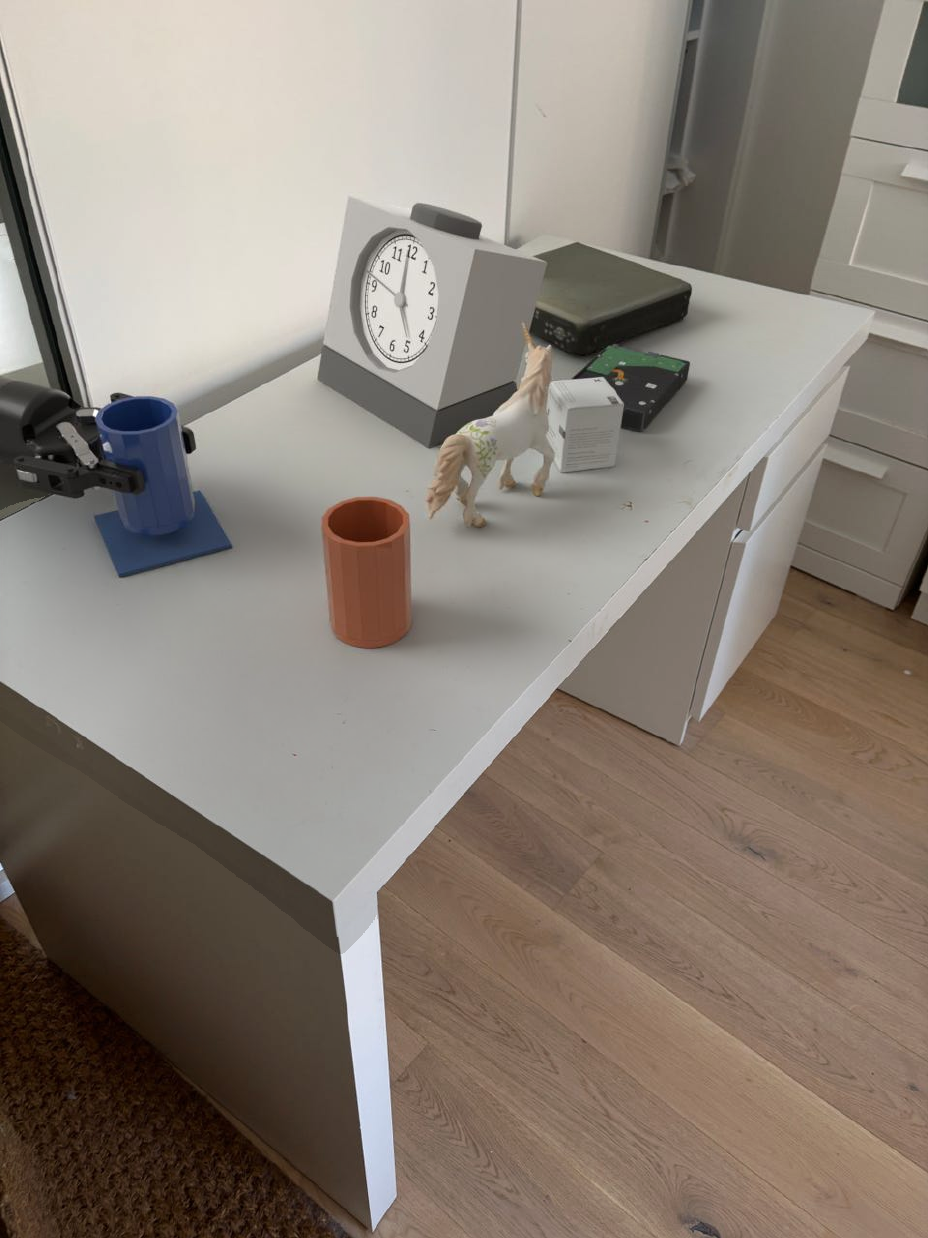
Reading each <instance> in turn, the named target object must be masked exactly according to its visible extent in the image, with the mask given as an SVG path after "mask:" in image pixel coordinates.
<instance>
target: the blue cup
mask: <svg viewBox="0 0 928 1238" xmlns="http://www.w3.org/2000/svg"><path fill="white" fill-rule="evenodd" d="M101 408H102V409H101V410H99V411H98V413H97V415H96V418H95V423H96V427H97V431H98V435H99V439H100V443H101V447H102V451H103V455H104V458H103V460H108V461H111V462H115V463H119V464H123V465H127V466H130V467H134V468H137V469H139V470H140V471H141V472H142V475H143V479H144V484H145V490H144V491H143V492H142V493H140V494H139V495H135V494H131V493H121V492H119V491H115V490H111V491H112V496H113V501H114V504H115V508H116V510H117V512H118V514H119V518H120V522H121V524H122V526H123V527H124V528H125V529H127V530H128V531H130V532H133V533H136V534H140V535H161V534H167V533H170V532H173V531H176V530H178V529H181V528H182V527H184V526H186V525H187V524H188V523H189V522H190V521H191V520H192V519H193V517H194V516H195V512H196V509H195V500H194V494H193V492H194V489H193V483H192V478H191V474H190V473H191V472H190V468H189V467H190V466H189V462H188V456H187V454H186V450H185V445H184V439H183V434H182V428H181V426H182V424H181V418H180V413H179V409H178V407H177V406H176V404H175V403H174V402H172V401H171V400H168V399H167V398H163V397H157V396H153V395H142V396H140V395H139V396H138V395H137V396H134V397H130V398H125V399H120V400H117V401H115V402H112V403H111V402H110V403H108V404H106V405H104V406H103V407H101Z"/></svg>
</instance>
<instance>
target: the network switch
mask: <svg viewBox="0 0 928 1238" xmlns="http://www.w3.org/2000/svg"><path fill="white" fill-rule="evenodd" d="M532 256H533V257H535V258H538V259H540V260H543V261H545V262H547V266H546V269H545V273H544V277H543V281H542V284H541V288H540V292H539V296H538V299H537V303H536V307H535V311H534V314H533V318H532V322H531V326H530V329H529V333H532V334H533V335H535V336H537V337H540V338H542V339H544V340H547V341H548V342H551V343H553V344H554V345H555V346H557V347H558V348H559V349H561V350H563V351H565V352H567V353H570V354H571V353H572V354H580V355H583V356H587V355H588V354H593V353H595V352H600V351H602V350H603V349H605V348H607V347H608V346H612V345H613V344H616V343H618V342H622V341H626V340H627V339H631V338H634V337H636V336H637V335H639V334H641V333H644V332H645V333H646V332H649V331H652V330H655V329H657V328H661V327H668V326H669V325H672V324H674V323H678V322H681V321H682V320H684V318H685V317H686V316H687V315H688V313H689V307H690V302H691V301H690V300H691V297H692V294H693V286H692V284H691V283H690V282H687V281H686V280H683V279H682V278H679V277H675V276H672V275H671V274H667V273H665V272H662V271H659V270H656V269H653V268H651V267H648V266H645V265H642V264H640V263H638V262H636V261H632V260H630V259H626V258H624V257H621V256H618V255H617V254H616V255H615V254H612V253H610V252H607V251H605V250H601V249H598V248H596V247H592V246H590V245H586V244H585V243H584V244H583V243H581V242H579V241H575V242H572V243H569V244H566V245H563V246H561V247H558V248H554V249H551V250H548V251H544V252H541V253H539V254H535V255H532Z"/></svg>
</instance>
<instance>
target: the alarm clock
mask: <svg viewBox="0 0 928 1238" xmlns="http://www.w3.org/2000/svg"><path fill="white" fill-rule="evenodd" d="M344 213H345V214H344V219H343V224H342V225H343V226H342V232H341V237H340V243H339V249H338V253H337V254H338V255H337V260H336V266H335V272H334V278H333V284H332V290H331V294H330V302H329V307H328V311H327V312H328V313H327V318H326V325H325V330H324V336H323V342H322V344H323V345H322V346H321V352H320V359H319V366H318V372H317V377H316V378H317V380H318V381H320V382H321V383H323V384H324V385H326V386H328V387H329V388H331V389H333V390H334V391H336V392H337V393H339V394H341V395H342V396H344V397H346V398H347V399H348V400H350V401H352V402H354V403H355V404H357V405H358V406H360V407H362V408H363V409H364V410H366V411H368V412H369V413H371V414H373V415H374V416H376V417H378V418H379V419H381V420H382V421H384V422H385V423H387V424H389V425H390V426H392V427H394V428H395V429H396V430H398V431H400V432H401V433H403V434H405V435H406V436H408V437H409V438H411V439H413V440H414V441H416V442H417V443H419V444H421V445H422V446H424V447H426V448H427V449H430V448H433V447H435V446H438V445H440V444H443V443H444V441H445V440H446V439H447V438H448V437H449V436H451V435H455V434H456V433H457V432H458V431H459V430H460V429H461V428H462V427H464V426H465V425H466V424H468V423H470V422H472V421H475V420H479V419H484V418H487V417H490V416H493V414H494V412H495V411H496V410H497V409H498V408H499V407H500V406H501V405H502V404H504V403H505V402H506V401H508V400H509V399H510V398H511V397H512V395H513V394H514V393H515V392H516V391H518V387H517V383H516V382H517V381H516V380H517V378H518V375H519V370H520V367H521V363H522V359H523V356H524V352H525V348H526V345H527V342H526V339H525V335H524V332H523V327H522V323H523V322H524V323H525V325H526V326H527V329H528V332H529V329H530V326H531V322H532V318H533V314H534V311H535V307H536V303H537V299H538V296H539V292H540V288H541V284H542V281H543V277H544V273H545V269H546V266H547V262H545V261H543V260H540V259H538V258H535V257H533V256H534V255H531V254H528V253H525V252H523V251H520V250H518V249H516V248H513V247H510V246H508V245H505V244H503V243H501V242H498V241H497V240H493V239H491V238H488V237H485V236H483V235H481V232H482V228H483V223H482V222H481V221H479V220H478V219H476V218H473V217H471V216H469V215H466V214H463V213H460V212H457V211H454V210H451V209H447V208H445V207H441V206H436V205H433V204H429V203H428V204H427V203H422V202H416V203H415V204H413V206H412V207H411V208H408V207H404V206H403V207H402V206H398V205H393V204H389V203H384V202H380V201H374V200H371V199H365V198H361V197H356V196H351V195H348V197H347V202H346V206H345V212H344ZM529 333H530V332H529Z"/></svg>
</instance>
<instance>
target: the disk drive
mask: <svg viewBox="0 0 928 1238" xmlns="http://www.w3.org/2000/svg"><path fill="white" fill-rule="evenodd" d="M690 366H691V361H689V360H685V359H681V358H678V357H677V358H676V357H674V356H673V357H672V356H668V355H664V354H660V353H657V352H653V351H647V352H646V351H643V350H642V351H641V350H637V349H633V348H629V347H624V346H621V345H620V346H619V344H618V343H613V344H611V345H609V346H607V347H605V348H603V349H601V350H600V351H599V352H598V354H597V355H595V356H594V357H593V358H592V359H591V360H590V361H589V362H588V363H587V364H586V365H585V366H584V367H582V369H580V370H579V371H578V372H577V373H576V374H575V375H574V376H573V377H572V378H571V379H570V380H574V379H587V378H597V377H604V378H605V380H606V381H607V382H608V383H609V385H610V386H611V387H612V388H613V389H614V390H615V391H616V393H617V395H618V396H619V398H620V399H621V400H622V402H623V403H624V408H623V414H622V421H621V428H623V429H627V430H634V431H635V432H637V431H638V432H644V430H646V429H647V428H648V426H649V425H650V424H652V422H653V421H654V419H655V418H656V417H657V416H658V415H659V414H660V413H661V411H662V410H663V409H664V408H665V406H666V405H667V404H668V403H669V402H670V401H672V399H673V397H674V396H675V395H676V394H677V393H678V392H679V391H680V390H681V388H682V387H683V386H684V384H686V382H687V381H688V377H689V371H690Z"/></svg>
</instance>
